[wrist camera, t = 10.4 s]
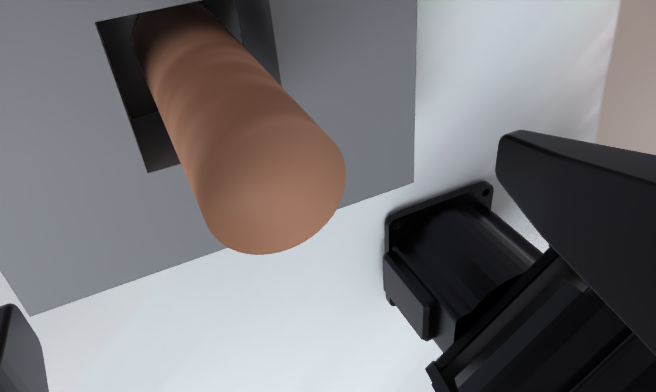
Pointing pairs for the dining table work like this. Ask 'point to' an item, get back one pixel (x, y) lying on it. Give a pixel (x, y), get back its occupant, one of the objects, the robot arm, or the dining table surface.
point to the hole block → (154, 141)
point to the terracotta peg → (237, 133)
